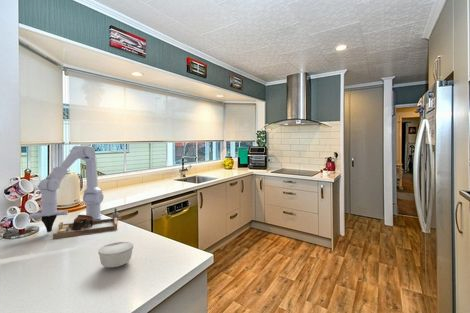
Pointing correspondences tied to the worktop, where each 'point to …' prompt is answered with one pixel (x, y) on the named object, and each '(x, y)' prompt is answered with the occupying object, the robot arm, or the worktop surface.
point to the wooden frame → (88, 231)
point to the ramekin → (115, 254)
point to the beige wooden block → (63, 228)
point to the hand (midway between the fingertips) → (49, 231)
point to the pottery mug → (84, 224)
